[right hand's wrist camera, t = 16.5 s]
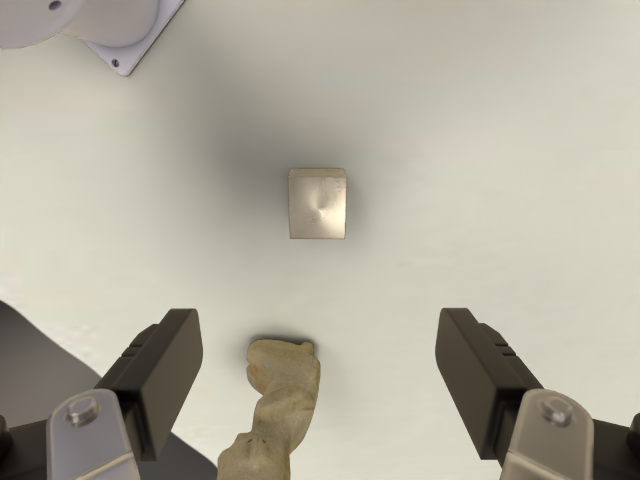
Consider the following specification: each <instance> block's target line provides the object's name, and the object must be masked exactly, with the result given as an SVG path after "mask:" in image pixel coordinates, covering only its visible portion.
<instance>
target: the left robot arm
mask: <svg viewBox="0 0 640 480" xmlns="http://www.w3.org/2000/svg"><path fill="white" fill-rule="evenodd" d="M183 2H184V0H0V49H16V48H22V47H27V46H31V45H34V44H37V43H40V42H42V41H45V40H47V39H49V38H51V37H52V36H54V35H56V34H57V33H59V32H61V33H64V34H67V35H71V36H74V37H77V38H80V39H81V40H82V41H83V42H84V43H85V44H86V45H87V46H88V47H89V48H90V49H92V50H93V51H94V52H95V53H96V54H97V55H98V56H99V57H100V58H101V59H102V60H103V61H104V62H105V63H107V64H108V65H109V66H110V67H111V68H112V69H113V70H114V71H115V72H116V73H117V74H119V75H121V76H128V75H129V74H130V72H131V71H132V70H133V68H134V67H135V66H136V64H137V63H138V62H139V60H140V59H141V58H142V56H143V55H144V54H145V52H146V51H147V50H148V48H149V47H150V46H151V44H152V43H153V42H154V40H155V39H156V38H157V36H158V35H159V34H160V32H161V31H162V30H163V28H164V27H165V26H166V24H167V23H168V22H169V20H170V19H171V18H172V16H173V15H174V14H175V12H176V11H177V10H178V8H179V7H180V6H181V4H182V3H183ZM116 60H118V62H119V66H118V67H116V66H115V61H116Z"/></svg>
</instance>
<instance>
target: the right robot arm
mask: <svg viewBox="0 0 640 480" xmlns="http://www.w3.org/2000/svg"><path fill="white" fill-rule="evenodd" d="M435 355H436V362H437V366H438V368H439V370H440V373H441V375H442V377H443V379H444V381H445V383H446V386H447V388H448V390H449V392H450V394H451V396H452V398H453V401H454V403H455V405H456V407H457V409H458V411H459V414H460V416H461V418H462V420H463V422H464V424H465V426H466V429H467V431H468V433H469V435H470V437H471V439H472V442H473V444H474V446H475V448H476V450H477V452H478V454H479V457H480V459H481V460H498V462H499V464H500V466H501V468H502V472H501V476H500V480H640V413H638V414H636V415H635V416H634V419H633V421H632V424H631V426H630V428H629V427H625V426H621V425H617V424H612V423H608V422H604V421H600V420H596V419H592V418H591V416H590V414H589V413H588V412H587V411H586V410H585V409H584V408H583V407H582V406H581V405H580V404H578V403H577V402H576V401H574V400H573V399H571V398H569V397H567V396H565V395H563V394H561V393H558V392H555V391H552V390H547V389H544V388H543V386H542V385H541V384H540V383H539V381H538V380H537V379H536V378H535V376H534V375H533V374H532V373H531V372H530V370H529V369H528V368H527V367H526V365H525V364H524V363H523V362H522V361H521V359H520V358H519V357H518V356H516V353H515V352H514V351H513V349H512V348H511V347H509V346H508V343H507V342H506V341H505V340H504V338H503V337H502V336H501V335H500V334H499V333H498V332H497V331H495V330H494V329H492V328H491V327H489V326H488V325H486V324H485V323H478V321H477V320H476V319H475V317H474V316H473V315H472V313H471V312H470V311H469V310H468V309H467V308H443V309H442V310H441V312H440V318H439V325H438V332H437V340H436V347H435ZM202 358H203V346H202V339H201V332H200V324H199V317H198V312H197V310H196V309H170V310H169V311H168V313H167V314H166V315H165V317H164V318H163V319H162V321H161V322H160V323H159V324H152V325H151V326H149V327H148V328H146V329H145V330H143V331H142V332H141V333H139V334H138V335H137V336H136V338H135V339H134V340H133V341H132V342H131V344H130V345H129V347H127V349H126V350H125V351H124V352H123V353H122V356H121V357H119V358H118V359H117V361H116V362H115V363H114V364H113V366H112V367H111V368H110V369H109V370H108V372H107V373H106V374H105V375H104V377H103V378H102V379H101V380H100V381H99V383H98V384H97V385H96V386H95V388H94V389H93V390H88V391H85V392H82V393H79V394H77V395H75V396H73V397H71V398H69V399H67V400H66V401H64V402H63V403H62V404H60V405H59V406H58V407H57V408H56V409H55V410H54V411H53V412H52V413H51V415H50V416H49V418H48V419H46V420H43V421H38V422H34V423H30V424H26V425H22V426H17V427H13V428H8V426H7V423H6V421H5V419H4V417H3V416H2V415H0V480H140V476H139V472H138V469H137V466H138V464H139V462H140V461H157V459H158V457H159V455H160V452H161V450H162V448H163V446H164V444H165V442H166V440H167V438H168V435H169V433H170V431H171V429H172V427H173V425H174V423H175V421H176V418H177V416H178V414H179V412H180V410H181V408H182V406H183V403H184V401H185V399H186V397H187V395H188V393H189V391H190V389H191V386H192V384H193V382H194V380H195V378H196V376H197V374H198V372H199V369H200V367H201V364H202Z"/></svg>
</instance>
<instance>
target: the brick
mask: <svg viewBox="0 0 640 480" xmlns="http://www.w3.org/2000/svg"><path fill="white" fill-rule="evenodd" d="M346 190H347V177H346V174H345V172H344V169H343V168H292V170H291V172H290V174H289V176H288V196H289V230H290V239H345V223H346Z"/></svg>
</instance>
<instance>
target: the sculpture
mask: <svg viewBox="0 0 640 480" xmlns="http://www.w3.org/2000/svg"><path fill="white" fill-rule="evenodd" d="M246 358H247V361H248V363H249V364H250V365H249V366H248V367H247V377H248V380H249V382H250V384H251V385H252V387H253V388H254V389H255V390H257V391H258V392H259V393H261V394H262V395H263V397H262V398H261V399H259V401H258V402H257V404H256V407H255V411H254V417H253V425H252V430H251V432H248V433H240V434H238V435H237V437H236V440H235V442H234V443H233V445H232V446H231V447H229V448H228V449H226V450H224V451H223V452H222V453H221V454H220V456H219V457H218V475H217V480H290V457H289V455H290V454H291V452H292V451H293V450H295V449H296V448H297V446H298V445H299V444H300V443H301V442H302V440H303V439H304V437H305V434H306V432H307V430H308V428H309V425H310V422H311V419H312V416H313V413H314V409H315V406H316V401H317V397H318V391H319V382H320V362H319V360H318V359H317V358H314V347H313V345H312V344H311V343H309V342H303V343H302V344H301V345H296V344H293V343H289V342H284V341H279V340H270V339H264V340H257V341H255V342H253V343H252V344H251V345H250V346H249V348H248V350H247V355H246Z"/></svg>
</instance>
